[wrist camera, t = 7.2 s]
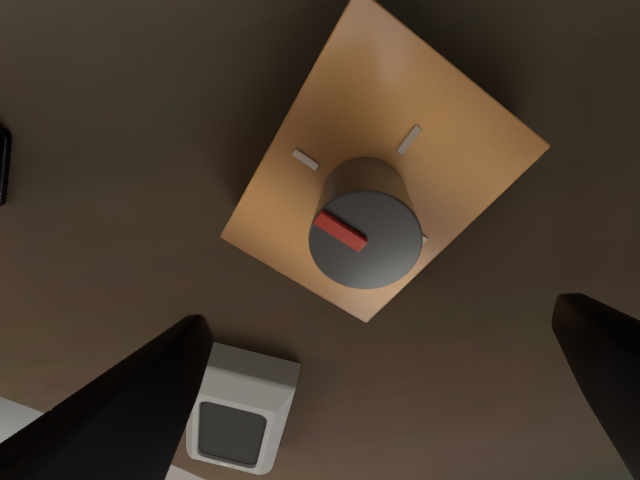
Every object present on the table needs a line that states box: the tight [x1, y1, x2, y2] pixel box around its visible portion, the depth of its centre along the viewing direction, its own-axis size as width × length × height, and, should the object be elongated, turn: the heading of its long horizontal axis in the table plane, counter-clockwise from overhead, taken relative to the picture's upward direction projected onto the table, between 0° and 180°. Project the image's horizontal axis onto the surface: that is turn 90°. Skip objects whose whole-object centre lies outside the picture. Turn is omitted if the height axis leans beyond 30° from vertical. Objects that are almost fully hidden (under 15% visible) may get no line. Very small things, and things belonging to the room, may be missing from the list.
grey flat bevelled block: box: [186, 342, 301, 475], centre depth 30 cm, size 10×4×15 cm
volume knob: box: [308, 157, 423, 289], centre depth 14 cm, size 4×4×5 cm
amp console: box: [220, 0, 550, 323], centre depth 18 cm, size 14×11×4 cm
